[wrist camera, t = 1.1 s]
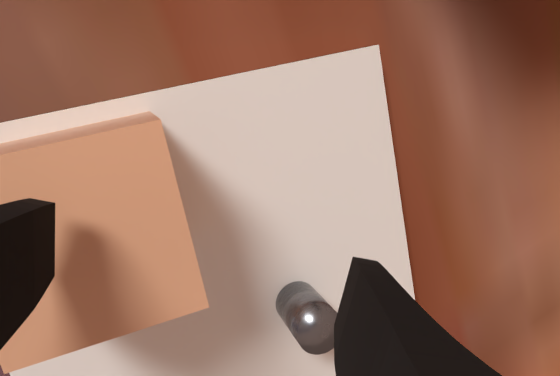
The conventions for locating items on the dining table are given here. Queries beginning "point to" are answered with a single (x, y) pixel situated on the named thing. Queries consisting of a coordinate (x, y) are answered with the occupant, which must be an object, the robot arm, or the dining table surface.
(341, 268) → the base plate
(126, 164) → the peach cube
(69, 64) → the dining table surface
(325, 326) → the metal stub
